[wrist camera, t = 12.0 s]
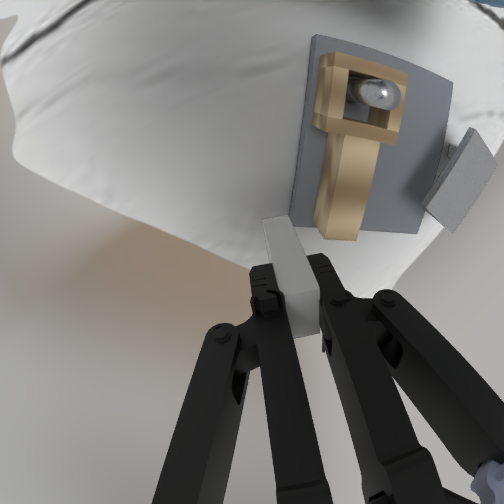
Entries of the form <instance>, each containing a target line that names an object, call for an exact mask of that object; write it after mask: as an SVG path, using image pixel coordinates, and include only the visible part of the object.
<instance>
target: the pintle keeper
mask: <svg viewBox="0 0 504 504" xmlns="http://www.w3.org/2000/svg"><path fill="white" fill-rule="evenodd" d="M345 100H346V101H348V102H353V103H358V104H363V105H367V106H372V107H376V108H380V109H385V110H394V109H396V108H397V107H398V106H399V104H400V102H401V91H400V89H399V87H398V86H397V85H396V84H395V83H394V82H393V81H390V80H380V79H348V82H347V90H346V97H345ZM448 157H449V158H451V159H450V160H449V162H448V164H447V165H446V167H445V168H444V170H443V171H442V173H441V174H440V176H439V177H438V179H437V180H436V182H435V183H434V185H433V186H432V188H431V189H430V191H429V192H428V194H427V195H426V197H425V198H424V199H423V201H422V202H421V204H422V205H423V209H424V210H425V211H427V212H428V213H429V214H430V215H431V216H432V217H434V218H435V219H436V220H437V221H438V222H439V223H441V224H442V225H443V226H444V227H445V228H446V229H448V230H449V231H450V232H451V233H452V234H453V233H454V232H455V231H456V229H457V228H458V226H459V225H460V224H461V222H462V221H463V219H464V218H465V217H466V215H467V214H468V212H469V211H470V209H471V208H472V206H473V205H474V203H475V202H476V200H477V199H478V197H479V196H480V194H481V192H482V191H483V189H484V187H485V186H486V184H487V183H488V181H489V179H490V178H491V176H492V174H493V172H494V171H495V169H496V167H497V162H496V161H495V159H494V157H493V156H492V154H491V152H490V151H489V149H488V147H487V146H486V144H485V143H484V141H483V139H482V138H481V136H480V135H479V133H478V132H477V130H476V129H473V128H470V127H469V129H468V130H467V132H466V134H465V136H464V137H463V139H462V141H461V142H460V144H459V146H455V145H452V144H450V148H449V152H448Z"/></svg>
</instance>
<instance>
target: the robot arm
mask: <svg viewBox="0 0 504 504" xmlns="http://www.w3.org/2000/svg"><path fill="white" fill-rule="evenodd" d="M471 1H474V2H477V3H483V4H488V5H490V6H492V7H499V8H504V0H471ZM262 221H263V227H264V233H265V239H266V245H267V252H268V258H269V262H270V263H269V264H264V265H258V266H253V267H252V269H251V271H250V273H249V276H250V284H251V292H252V297H251V300H250V303H251V307H252V312H253V314H252V316H251V317H250V318H249V319H248V320H247V321H246V322H244V323H242V324H240V325H238V326H236V327H235V326H234V325H232V324H229V323H221V324H217V325H215V326H213V327H212V328H211V329H209V330H208V332H207V334H206V336H205V340H204V342H203V345H202V348H201V351H200V354H199V357H198V360H197V363H196V366H195V369H194V372H193V375H192V378H191V381H190V384H189V387H188V390H187V393H186V396H185V399H184V402H183V405H182V408H181V411H180V415H179V418H178V421H177V424H176V427H175V430H174V433H173V437H172V439H171V443H170V446H169V449H168V452H167V455H166V459H165V462H164V465H163V468H162V471H161V475H160V478H159V481H158V485H157V488H156V491H155V494H154V498H153V501H152V504H223V500H224V496H225V492H226V487H227V482H228V478H229V473H230V469H231V464H232V459H233V454H234V449H235V444H236V440H237V435H238V430H239V425H240V420H241V415H242V410H243V405H244V400H245V395H246V390H247V385H248V379H249V374H250V371H251V370H253V369H255V368H257V367H259V366H260V368H261V377H262V385H263V392H264V400H265V407H266V414H267V422H268V429H269V437H270V444H271V451H272V459H273V465H274V473H275V480H276V496H277V504H333V501H332V496H331V492H330V488H329V484H328V482H327V479H326V477H325V473H324V468H323V464H322V459H321V455H320V450H319V446H318V441H317V437H316V432H315V428H314V424H313V420H312V415H311V411H310V406H309V402H308V398H307V393H306V389H305V385H304V381H303V377H302V372H301V368H300V364H299V360H298V356H297V352H296V348H295V344H294V340H293V339H295V338H299V337H304V336H309V335H314V334H318V333H320V328H321V331H322V334H323V337H322V338H323V339H322V352H325V351H326V354H327V357H328V361H329V363H330V367H331V370H332V373H333V377H334V380H335V383H336V386H337V390H338V393H339V396H340V400H341V403H342V406H343V410H344V413H345V417H346V420H347V423H348V427H349V431H350V434H351V438H352V441H353V445H354V449H355V452H356V456H357V459H358V463H359V467H360V471H361V475H362V491H363V495H364V500H365V504H478V503H475V502H473V501H471V500H469V499H466V498H464V497H462V496H460V495H458V494H456V493H454V492H452V491H450V490H448V489H446V488H443V487H442V484H441V481H440V478H439V475H438V472H437V469H436V466H435V463H434V460H433V458H432V456H431V454H430V452H429V451H428V450H427V448H425V447H422V446H421V445H420V444H419V442H418V440H417V437H416V434H415V432H414V429H413V427H412V424H411V421H410V419H409V416H408V414H407V411H406V409H405V407H404V404H403V402H402V399H401V397H400V394H399V392H398V390H397V387H396V385H395V383H394V380H393V378H394V379H395V380H396V382H397V383H398V385H399V386H400V387H401V388H402V390H403V391H404V392H405V393H406V395H407V396H408V397H409V399H410V400H411V401H412V403H413V404H414V405H415V407H416V408H417V409H418V410H419V412H420V413H421V414H422V416H423V417H424V418H425V420H426V421H427V422H428V423H429V425H430V426H431V428H432V429H433V430H434V432H435V433H436V434H437V436H438V437H439V438H440V440H441V441H442V442H443V444H444V445H445V447H446V448H447V449H448V451H449V452H450V453H451V455H452V456H453V457H454V459H455V460H456V461H457V463H458V464H459V465H460V466H461V467H462V468H463V469H464V470H465V471H466V472H467V473H468V474H470V475H471V476H473V477H474V480H473V481H472V483H471V490H472V491H473V492H475V493H476V494H477V495H478V496H479V498H480V501H481V504H504V402H503V401H502V400H501V399H500V398H499V396H498V395H497V394H496V393H495V392H494V391H493V389H491V387H490V386H489V385H488V384H487V383H486V381H485V380H484V379H483V378H482V377H481V376H480V375H479V374H478V372H477V371H476V370H475V369H474V368H473V367H472V366H471V365H470V364H469V363H468V362H467V361H466V359H465V358H464V357H463V356H462V355H461V354H460V353H459V352H458V351H457V350H456V349H455V348H454V347H453V346H452V345H451V344H450V343H449V342H448V341H447V340H446V339H445V338H444V337H443V336H442V335H441V334H440V332H438V330H437V329H435V328H434V327H433V326H432V325H431V324H430V323H429V322H428V321H427V320H426V319H425V318H424V317H423V316H422V315H421V314H420V313H419V312H418V311H417V310H416V309H415V308H414V307H413V306H412V305H411V304H410V303H409V302H408V301H407V300H406V299H404V298H403V297H402V296H401V295H400V294H399V293H397V292H396V291H393V290H390V289H384V290H380V291H378V292H377V293H375V295H374V297H373V299H371V298H357V297H354V296H353V295H352V294H351V292H349V291H347V290H345V289H344V287H343V285H342V283H341V281H340V279H339V277H338V275H337V273H336V271H335V269H334V267H333V266H332V264H331V262H330V260H329V258H328V257H327V256H325V255H324V254H322V253H319V254H313V255H308V256H306V254H305V252H304V250H303V248H302V245H301V243H300V241H299V238H298V236H297V234H296V232H295V229H294V227H293V225H292V223H291V220H290V218H289V216H288V215H284V216H278V217H272V218H267V219H262ZM392 377H393V378H392Z"/></svg>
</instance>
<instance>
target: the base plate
mask: <svg viewBox="0 0 504 504" xmlns="http://www.w3.org/2000/svg"><path fill="white" fill-rule="evenodd" d="M335 51H336V52H340V53H344V54H348V55H352V56H355V57H359V58H362V59H366V60H369V61H372V62H376V63H379V64H382V65H385V66H388V67H391V68H393V69H396V70H399V71H402V72H404V73H407V74H408V77H407V85H406V92H405V99H404V106H403V112H402V118H401V124H400V129H399V134H398V139H397V144H396V146H395V145H391V144H387V143H382V142H380V146H379V151H378V156H377V161H376V166H375V170H374V175H373V179H372V183H371V187H370V192H369V196H368V200H367V203H366V207H365V211H364V215H363V219H362V222H361V226H360V230H366V231H381V232H395V233H408V234H417V233H418V230H419V227H420V224H421V222H422V219H423V216H424V213H425V210H424V209H423V205H422V204H421V202H422V201H423V199H424V198H425V197H426V195H427V194H428V192H429V191H430V189H431V188H432V186H433V183H434V179H435V175H436V172H437V168H438V164H439V160H440V156H441V151H442V147H443V142H444V138H445V133H446V127H447V122H448V116H449V110H450V104H451V97H452V90H453V82H451V81H449V80H447V79H445V78H443V77H441V76H439V75H437V74H435V73H433V72H430V71H428V70H426V69H424V68H422V67H419V66H417V65H414V64H412V63H410V62H407V61H405V60H402V59H400V58H397V57H394V56H391V55H389V54H386V53H383V52H380V51H377V50H374V49H371V48H368V47H364V46H361V45H358V44H354V43H351V42H347V41H343V40H339V39H335V38H331V37H327V36H322V35H318V34H316V35H315V36H313V37H312V44H311V54H310V64H309V73H308V82H307V91H306V99H305V107H304V116H303V124H302V131H301V139H300V146H299V154H298V161H297V168H296V175H295V182H294V189H293V196H292V202H291V209H290V215H289V218H290V220H291V223H292V225H293V226H295V227H315V228H317V226H316V225H315V223H314V221H313V218H314V213H315V207H316V202H317V197H318V192H319V186H320V181H321V175H322V169H323V163H324V157H325V151H326V145H327V139H328V132H325V131H323V130H321V129H319V128H317V127H315V126H313V125H312V120H313V113H314V105H315V97H316V89H317V81H318V72H319V63H320V56H321V55H324V54H328V53H332V52H335ZM348 79H363V78H360V77H356V76H352V75H348ZM369 109H370V106H367V105H363V104H358V103H353V102H348V101H346V100H345V105H344V112H343V117H346V118H351V119H355V120H360V121H364V122H368V116H369Z"/></svg>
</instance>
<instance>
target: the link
mask: <svg viewBox="0 0 504 504" xmlns="http://www.w3.org/2000/svg"><path fill="white" fill-rule="evenodd" d="M348 75H352V76H356V77H360V78H363V79H380V80H390V81H393V82H394V83H395V84H396V85H397V86H398V87H399V89H400V91H401V102H400V104H399V106H398V107H397V108H396V109H394V110H385V109H380V108H376V107H372V106H370V109H369V116H368V122H364V121H360V120H355V119H351V118H346V117H343V112H344V105H345V97H346V90H347V82H348ZM407 77H408V74H407V73H404V72H402V71H399V70H396V69H393V68H391V67H388V66H385V65H382V64H379V63H376V62H372V61H369V60H366V59H362V58H359V57H355V56H352V55H348V54H344V53H340V52H336V51H335V52H332V53H328V54H324V55H321V56H320V63H319V72H318V81H317V89H316V97H315V105H314V113H313V120H312V125H313V126H315V127H317V128H319V129H321V130H323V131H325V132H328V139H327V145H326V151H325V157H324V163H323V169H322V175H321V181H320V186H319V192H318V197H317V202H316V207H315V213H314V218H313V221H314V223H315V225H316V226H317V228H318V230H319V232H320V233H321V235H322V237H323V239H328V240H350V241H356V240H357V237H358V233H359V230H360V226H361V222H362V219H363V215H364V211H365V207H366V203H367V200H368V196H369V192H370V187H371V183H372V179H373V175H374V170H375V166H376V161H377V156H378V151H379V146H380V142H382V143H387V144H391V145H395V146H396V144H397V139H398V134H399V129H400V124H401V118H402V112H403V106H404V99H405V92H406V85H407Z"/></svg>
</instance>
